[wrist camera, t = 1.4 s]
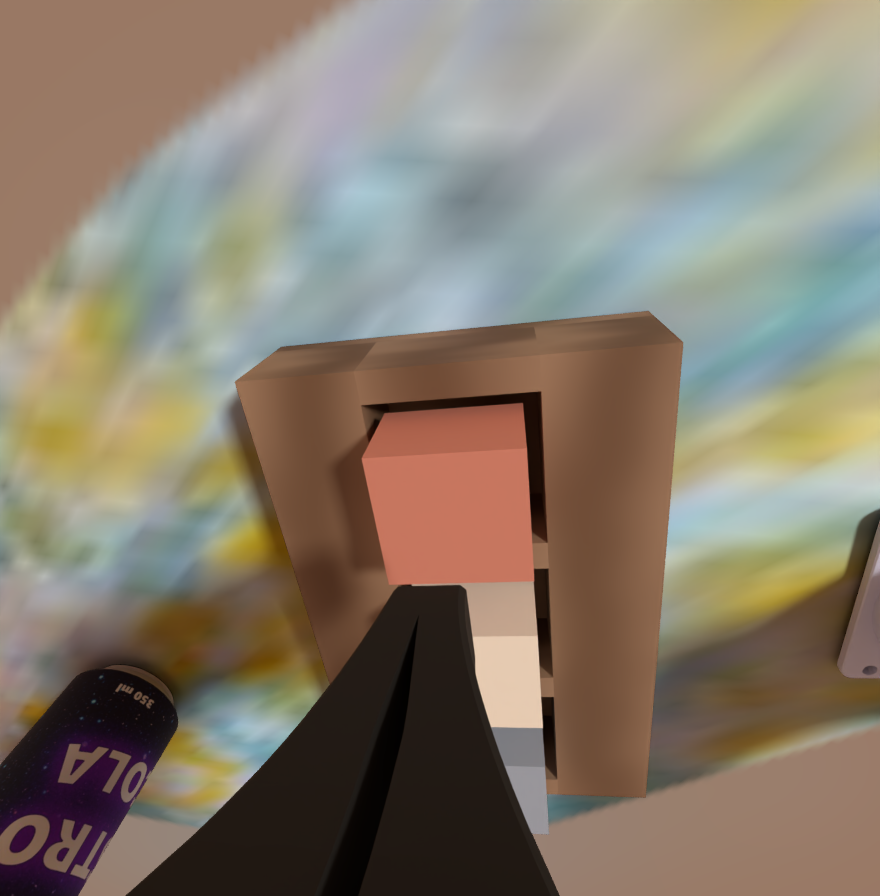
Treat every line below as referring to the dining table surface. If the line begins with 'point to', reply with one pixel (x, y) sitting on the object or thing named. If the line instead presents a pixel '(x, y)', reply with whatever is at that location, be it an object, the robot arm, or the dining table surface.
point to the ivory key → (506, 651)
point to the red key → (452, 495)
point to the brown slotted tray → (551, 502)
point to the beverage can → (79, 778)
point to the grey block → (526, 772)
